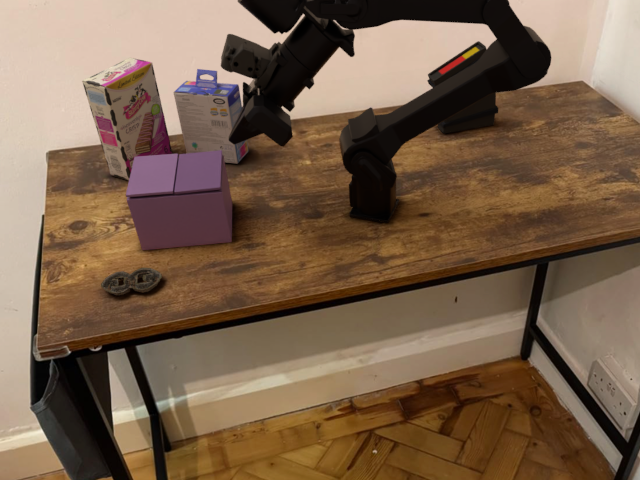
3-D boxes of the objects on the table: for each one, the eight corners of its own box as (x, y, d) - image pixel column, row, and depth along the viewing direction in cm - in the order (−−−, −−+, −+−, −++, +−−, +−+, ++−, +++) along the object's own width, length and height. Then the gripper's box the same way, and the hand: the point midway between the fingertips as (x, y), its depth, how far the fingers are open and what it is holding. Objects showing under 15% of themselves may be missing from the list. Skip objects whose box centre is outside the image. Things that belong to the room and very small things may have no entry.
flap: (222, 152, 101) (221, 150, 100) (220, 189, 93) (220, 187, 93) (179, 156, 100) (179, 154, 100) (174, 194, 92) (174, 191, 92)
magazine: (511, 115, 126) (488, 46, 115) (452, 153, 127) (424, 88, 116) (502, 107, 129) (479, 39, 118) (444, 144, 129) (416, 80, 118)
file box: (232, 203, 107) (222, 149, 100) (231, 242, 99) (220, 187, 93) (149, 210, 105) (134, 156, 99) (142, 250, 97) (124, 195, 91)
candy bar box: (133, 183, 111) (104, 86, 100) (110, 176, 113) (79, 80, 101) (175, 153, 119) (153, 60, 107) (153, 147, 120) (128, 55, 109)
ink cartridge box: (250, 150, 119) (238, 69, 109) (239, 165, 116) (225, 82, 106) (199, 145, 121) (182, 64, 111) (186, 159, 117) (168, 77, 107)
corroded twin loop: (103, 279, 92) (101, 273, 92) (162, 270, 94) (160, 264, 93) (102, 301, 89) (99, 295, 88) (163, 291, 90) (161, 285, 90)
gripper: (250, -10, 90) (185, 78, 96) (252, 40, 76) (176, 137, 83) (313, 46, 96) (248, 125, 102) (325, 101, 83) (249, 187, 89)
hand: (231, 141), depth 94 cm, fingers closed
